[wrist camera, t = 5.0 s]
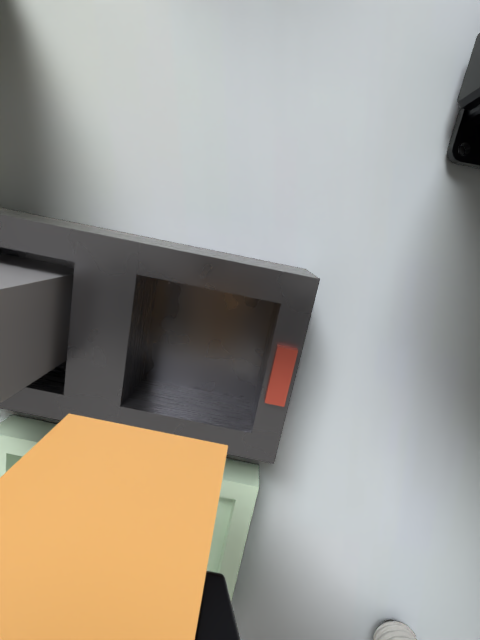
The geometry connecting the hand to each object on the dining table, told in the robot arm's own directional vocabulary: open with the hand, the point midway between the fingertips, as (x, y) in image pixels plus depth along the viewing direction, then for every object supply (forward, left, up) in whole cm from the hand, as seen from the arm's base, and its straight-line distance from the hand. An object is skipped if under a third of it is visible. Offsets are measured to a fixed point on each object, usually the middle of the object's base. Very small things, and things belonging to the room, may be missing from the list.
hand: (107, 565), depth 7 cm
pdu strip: (+4, -2, -12) cm, 12 cm away
